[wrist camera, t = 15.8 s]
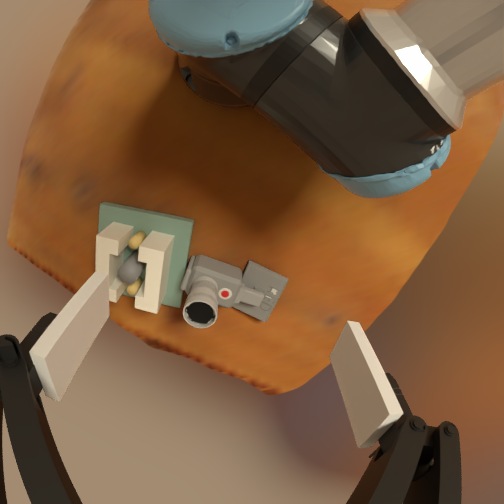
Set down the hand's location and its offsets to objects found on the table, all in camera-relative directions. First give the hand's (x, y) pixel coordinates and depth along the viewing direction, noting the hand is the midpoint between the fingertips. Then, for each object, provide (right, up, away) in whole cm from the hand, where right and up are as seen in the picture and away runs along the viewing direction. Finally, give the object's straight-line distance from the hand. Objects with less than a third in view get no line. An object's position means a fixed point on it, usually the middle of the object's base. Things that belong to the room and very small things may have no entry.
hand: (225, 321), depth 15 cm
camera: (-2, -1, +32) cm, 32 cm away
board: (-16, +3, +29) cm, 34 cm away
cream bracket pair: (-16, +3, +28) cm, 32 cm away
